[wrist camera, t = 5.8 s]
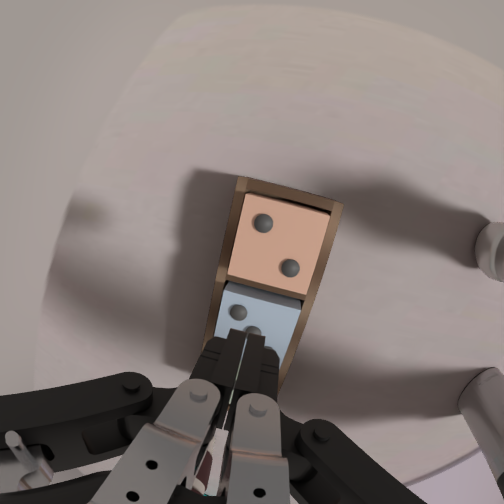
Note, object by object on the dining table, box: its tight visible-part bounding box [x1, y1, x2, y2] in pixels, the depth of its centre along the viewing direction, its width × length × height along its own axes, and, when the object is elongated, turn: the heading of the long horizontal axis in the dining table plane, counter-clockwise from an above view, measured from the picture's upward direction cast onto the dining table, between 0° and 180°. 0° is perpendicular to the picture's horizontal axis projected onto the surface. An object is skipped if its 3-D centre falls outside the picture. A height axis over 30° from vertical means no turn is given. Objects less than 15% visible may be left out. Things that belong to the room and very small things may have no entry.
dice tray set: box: [201, 176, 344, 411], centre depth 27 cm, size 24×9×5 cm, turn 167°
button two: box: [228, 192, 330, 295], centre depth 23 cm, size 6×6×3 cm
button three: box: [214, 281, 301, 369], centre depth 25 cm, size 6×6×3 cm
